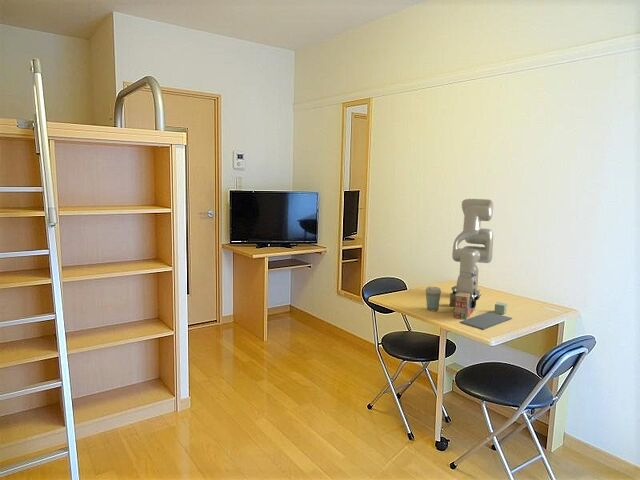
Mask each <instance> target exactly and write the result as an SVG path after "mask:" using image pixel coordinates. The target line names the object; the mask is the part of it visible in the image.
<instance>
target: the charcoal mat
mask: <svg viewBox="0 0 640 480" xmlns="http://www.w3.org/2000/svg"><path fill="white" fill-rule="evenodd" d="M512 319H513V317H510V316H507V315H503V314H498V313H494V312H493V311H492V312H491V311H487V312H484V313H482V314H479V315H476V316H472V317H470V318H469V317H468V318H467V319H462V320H461V321H459V323H460V324H463V325H467V326H470V327H472V328H476V329H480V330H483V331H484V330H486V329H488V328H492V327H494V326H496V325H500V324H502V323H505V322H508V321H510V320H512Z"/></svg>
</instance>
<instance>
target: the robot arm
mask: <svg viewBox="0 0 640 480" xmlns="http://www.w3.org/2000/svg"><path fill="white" fill-rule="evenodd" d="M461 209H462V213H463V215H464V217H463V228H462V229H463V230H462V231H461V232H460V233H459V234H458V235H457V236H456V238H455V239H454V241H453V246H452V260H453V261H454V262H459V275H458V277H457V279H456V280H457V281H456V285H455V286H452V287H451V290H452V293H453V294H454V296H455V298H456V295H457V294H458V293H459V292H464V293H468V294H471V295H470V296H471V299H472V301H471V308H475V309H476V306H477V300H479V299H480V297H481V295H482V293H481V290H480V289H478V284H479V267H478V266H477V265H476V264H477V263H480V264H481V263H484V264H489V263H491V262H492V259H493V252H494V251H493V247H494V232H493V230H492V229H490V228H483V227H481V224H482V222H490V221H491V220H492V217H493V211H494V202H493V201H492V200H491V199H487V198H485V199H484V198H467V199H466V198H465V199H463V200H462V201H461ZM463 241H465V242H466V243H467V244H470V245H466V246H464V247H462V248H461V247H459V246H460V243H462V242H463ZM471 244H473V245H471ZM475 245H482V246H475ZM475 295H476V296H475Z"/></svg>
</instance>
